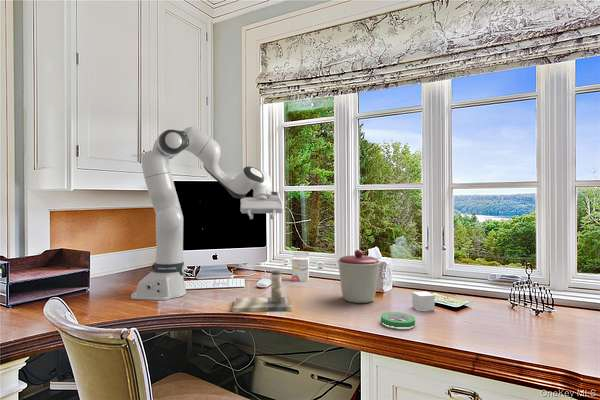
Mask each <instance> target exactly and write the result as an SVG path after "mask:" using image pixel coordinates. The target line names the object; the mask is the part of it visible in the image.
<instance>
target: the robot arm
mask: <svg viewBox="0 0 600 400" xmlns="http://www.w3.org/2000/svg"><path fill="white" fill-rule="evenodd" d="M183 151H187V152H189V153H191V154H192V155H194V156H195V157H196V158H198V159H199V160H200V161H201V162H202V164H203V168H204V170H205V171H206V172H207V173H208V174H209V175H210V176H211V177H212V178H213V179H215V181H217V183H219V184H220V185H221V186H222V187H223V188H224V189H226V190H227V192H228V193H229V194H230V195H231V196H232V197H233V198H236V199H240V200H239V201H240V206H239V207H240V208H239V209H240V210H239V211H240V212H241V214H247V216H248V217H249V220H253V219H254V214H270V217H269V219H270V220H274V217H275V216H276V214H282V213H284V202H283V199H282V198H281V194H280V192H278V191H273V190H272V180H271V176H270V175H269V173H268V172H267V171H265V170H259V169H258V168H256V167H254V166H249V165H248V166H244V167H243V168H242V169H241V171H240V172H239V173H238V174H237V175H236V176H235V177H234V178H232V177H230V176H229V175H228V174H227V173H226V172H224V171H223V170H222V169H221V168H220V165H219V162H220V158H221V156H222V155H221V153H222V150H221V145H220V144H219V143H218V141H216V140H215V139H213V137H211V136H209V135H208V134H207V133H205V132H203V131H201V130H200V129H198V128H196V127H193V126H189V127H186V128H184V129H183V130H178V129H167V130H165V131H163V132H162V133H160V134H159V135H158V136H157V138H156V140H155V142H154V144H153V147H152V149H150V150H148V151H146V152H144V153H143V155H142V156H141V168H142V174H143V178H144V181H145V185H146V189H147V192H148V195H149V198H150V201H151V204H152V207H153V211H154V213H155V240H156V241H155V242H156V243H155V244H156V247H155V249H156V250H155V251H156V253H155V254H156V257H155V260H156V261H155V262H154V263H152V265H150V270H151V271H150V272H149V273H148V274H147V275H146V276H144V277H142V279H140V281H139V282H138V283H137V287H136V291H134V292H132V293H131V295H130V299H131V300H145V301H146V300H150V301H153V300H154V301H168V300H171V299H175V298H180V297H183V296H185V295H186V294H187V290H186V286H185V279H184V275H185V274H184V273H185V261H184V215H183V211H182V208H181V207H182V206H181V204H180V201H179V200H180V199H179V197H178V193H177V191H176V186H175V182H174V179H173V175H172V172H171V169H170V164H169V161H170V160H171V159H173V158H174V157H177V156H178V155H180V153H181V152H183ZM251 190H253V192H252V196H246V195H247V194H248V193H249V192H250V191H251Z"/></svg>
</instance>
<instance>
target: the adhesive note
mask: <svg viewBox="0 0 600 400" xmlns="http://www.w3.org/2000/svg"><path fill="white" fill-rule="evenodd" d="M411 293H412V295H411V298H412V299H411V300H412V302H411V305H412V306H413V307H415V308H417V309H418V310H420V311H422V310H435V311H436V307H435V305H436V304H435V302H436V299H435V297H436V296H435V294H433V293H431V292H428V291H412V292H411ZM412 306H411V307H412ZM413 307H412V308H413ZM415 308H414V309H415ZM418 310H417V311H418ZM420 311H419V312H420Z"/></svg>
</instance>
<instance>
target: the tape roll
mask: <svg viewBox="0 0 600 400" xmlns="http://www.w3.org/2000/svg"><path fill="white" fill-rule="evenodd" d="M391 319H403V320H406V321H399V320H391ZM381 322H382V323H384V324H386V325H389V326H394V327H411V326H414V325H415V326H416V318H415V317H414V316H413V315H412V314H409V313H405V312H400V311H399V312H398V311H397V312H396V311H389V312H384V313H382V314H381V315H380V323H381Z"/></svg>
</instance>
